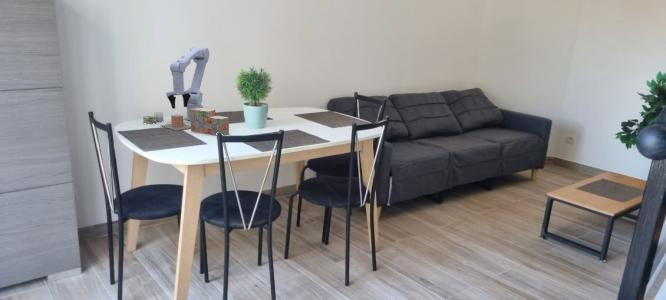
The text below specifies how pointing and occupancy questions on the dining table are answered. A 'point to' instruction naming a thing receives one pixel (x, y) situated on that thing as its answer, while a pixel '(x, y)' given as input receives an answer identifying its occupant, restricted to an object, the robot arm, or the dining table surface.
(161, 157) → the dining table surface
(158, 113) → the grey cylinder
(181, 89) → the robot arm
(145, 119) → the sage block
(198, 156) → the dining table surface
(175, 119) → the terracotta block
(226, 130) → the stack of blocks
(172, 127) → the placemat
